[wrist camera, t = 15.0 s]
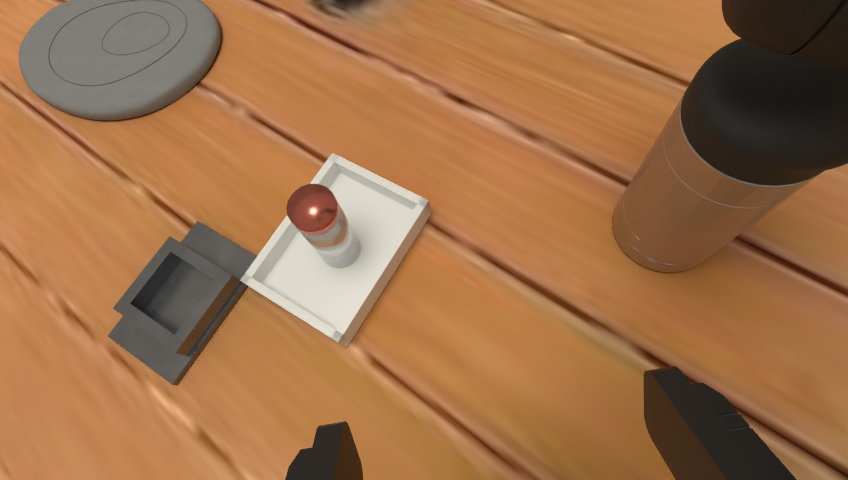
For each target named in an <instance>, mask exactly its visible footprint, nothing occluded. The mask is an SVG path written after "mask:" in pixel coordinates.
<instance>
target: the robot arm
mask: <svg viewBox="0 0 848 480" xmlns="http://www.w3.org/2000/svg"><path fill="white" fill-rule="evenodd" d="M722 11H723V16H724V20H725V22H726V24H727V25H728V26H729V28H730V29H731V30H732V31H733V33H735V34H736V35H737V36H739V37H741V39H738V40H736V41H734V42H732V43H730V44H728V45H726V46H724V47H722V48H721V49H719V50H718V51H717V52H715V53H714V54H713V55H712V56H711V57H710V58H709V59H708V60H707V61H706V62H705V63H704V64H703V65H702V66H701V68H700V69H699V70H698V72H697V73H696V75H695V77H694V78H693V80H692V82H691V83H690V85H689V87H688V88H687V90H686V92H685V93H684V95H683V97H682V98H681V100H680V102H679V103H678V105H677V107H676V108H675V110H674V111H673V113H672V115H671V116H670V118H669V120H668V122H667V123H666V125H665V127H664V128H663V130H662V132H661V133H660V135H659V137H658V138H657V140H656V141H655V143H654V145H653V146H652V148H651V150H650V151H649V153H648V155H647V156H646V158H645V160H644V161H643V163H642V164H641V166H640V168H639V169H638V171H637V173H636V174H635V176H634V178H633V179H632V181H631V182H630V184H629V185H628V187H627V189H626V190H625V192H624V194H623V195H622V197H621V199H620V200H619V202H618V204H617V206H616V208H615V210H614V214H613V231H614V235H615V238H616V240H617V242H618V244H619V246H620V247H621V248H622V250H623V251H624V252H625V253H626V254H627V255H628V256H629V257H630V258H631V259H632V260H633V261H635V262H637V263H638V264H640V265H642V266H643V267H646V268H649V269H651V270H654V271H660V272H665V273H667V272H680V271H685V270H688V269H690V268H693V267H695V266H697V265H698V264H700V263H701V262H702V261H704V260H705V259H706V258H708V257H709V256H710V255H712V254H713V253H714V252H716V251H717V250H719V249H720V248H722V247H723V246H724V245H726V244H727V243H728V242H730V241H731V240H732V239H734V238H735V237H736V236H738V235H739V234H740V233H742V232H743V231H744V230H746V229H747V228H748V227H750V226H751V225H753V224H754V223H755V222H757V221H758V220H759V219H761V218H762V217H763V216H765V215H766V214H767V213H769V212H770V211H771V210H773V209H774V208H775V207H777V206H778V205H779V204H781V203H782V202H783V201H785V200H786V199H787V198H789V197H790V196H791V195H793V194H794V193H795V192H796V191H798V190H799V189H800V188H802V187H803V186H804V185H806V184H807V183H808V182H810V181H811V180H813V179H814V178H815V177H817V176H818V175H819V174H821V173H822V172H823V171H825V170H828V169H833V168H836V167H839V166H842V165H845V164H847V163H848V0H722ZM644 417H645V423H646V426H647V429H648V432H649V435H650V437H651V439H652V441H653V442H654V444H655V446H656V447H657V449H658V451H659V452H660V454H661V456H662V457H663V459H664V461H665V462H666V464H667V466H668V467H669V469H670V471H671V472H672V474H673V476H674V477H675V479H676V480H796V479H795V477H794V476H793V475H792V474H791V473H790V472H789V471H788V469H787V468H786V467H785V466H784V465H783V464H782V463H781V461H780V460H779V459H778V458H777V457H776V456H775V454H774V453H773V452H772V451H771V450H770V449H769V448H768V446H767V445H766V444H765V443H764V442H763V441H762V439H761V438H760V437H759V436H758V435H757V434H756V433H755V431H754V430H753V429H750V427H749V425H748V423H747V422H746V421H745V420H744V419H743V418H742V416H741V415H738V413H737V411H736V410H735V408H734V407H733V406H732V405H731V404H730V403H729V402H728V400H727V399H726V398H725V397H724V396H723V395H722V394H720V393H719V392H717V391H715V390H714V389H712V388H710V387H709V386H707V385H706V384H704V383H698V384H691V383H690V382H689V381H688V379H687V378H686V377H685V376H684V374H683V373H682V372H681V371H680V370H679V369H678V368H677V367H675V366H672V367H666V368H660V369H654V370H649V371H645V373H644ZM285 480H363V472H362V465H361V461H360V458H359V455H358V452H357V449H356V446H355V443H354V440H353V437H352V434H351V431H350V428H349V425H348V423H347V422H339V423H333V424H327V425H321V426H319V427H318V428H317V431H316V435H315V439H314V443H313V448H307V449H301V450H300V452H299V453H298V454H297V456H296V457H295V459H294V460H293V462H292V463H291V465H290V466H289V468H288V472H287V476H286V479H285Z"/></svg>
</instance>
